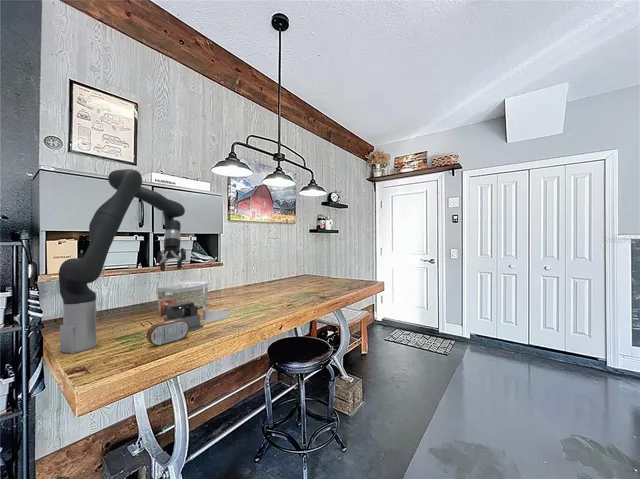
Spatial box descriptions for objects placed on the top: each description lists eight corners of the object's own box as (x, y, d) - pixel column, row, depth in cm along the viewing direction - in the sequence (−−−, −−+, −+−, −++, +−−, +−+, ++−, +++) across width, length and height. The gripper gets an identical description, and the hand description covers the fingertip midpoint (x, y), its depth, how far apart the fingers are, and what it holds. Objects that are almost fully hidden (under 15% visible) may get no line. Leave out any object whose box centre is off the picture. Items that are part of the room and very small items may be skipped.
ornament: (204, 312, 154) (204, 281, 154) (229, 309, 158) (229, 280, 158) (203, 322, 133) (202, 288, 133) (232, 319, 138) (231, 286, 138)
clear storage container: (189, 303, 174) (189, 280, 174) (210, 305, 169) (209, 281, 169) (155, 313, 152) (154, 286, 152) (177, 316, 146) (177, 288, 146)
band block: (160, 331, 120) (160, 305, 121) (192, 323, 132) (192, 300, 132) (171, 336, 114) (171, 309, 114) (203, 327, 125) (203, 302, 125)
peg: (159, 315, 129) (159, 300, 129) (175, 312, 135) (175, 298, 135) (175, 321, 120) (175, 305, 120) (191, 317, 125) (190, 302, 125)
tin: (187, 336, 114) (186, 315, 114) (190, 337, 112) (190, 317, 112) (146, 347, 103) (146, 324, 103) (149, 349, 101) (149, 326, 101)
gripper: (154, 239, 142) (152, 270, 137) (181, 235, 141) (179, 266, 136) (164, 243, 149) (162, 273, 144) (189, 239, 148) (188, 269, 143)
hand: (170, 269), depth 140 cm, fingers open, 8 cm apart
